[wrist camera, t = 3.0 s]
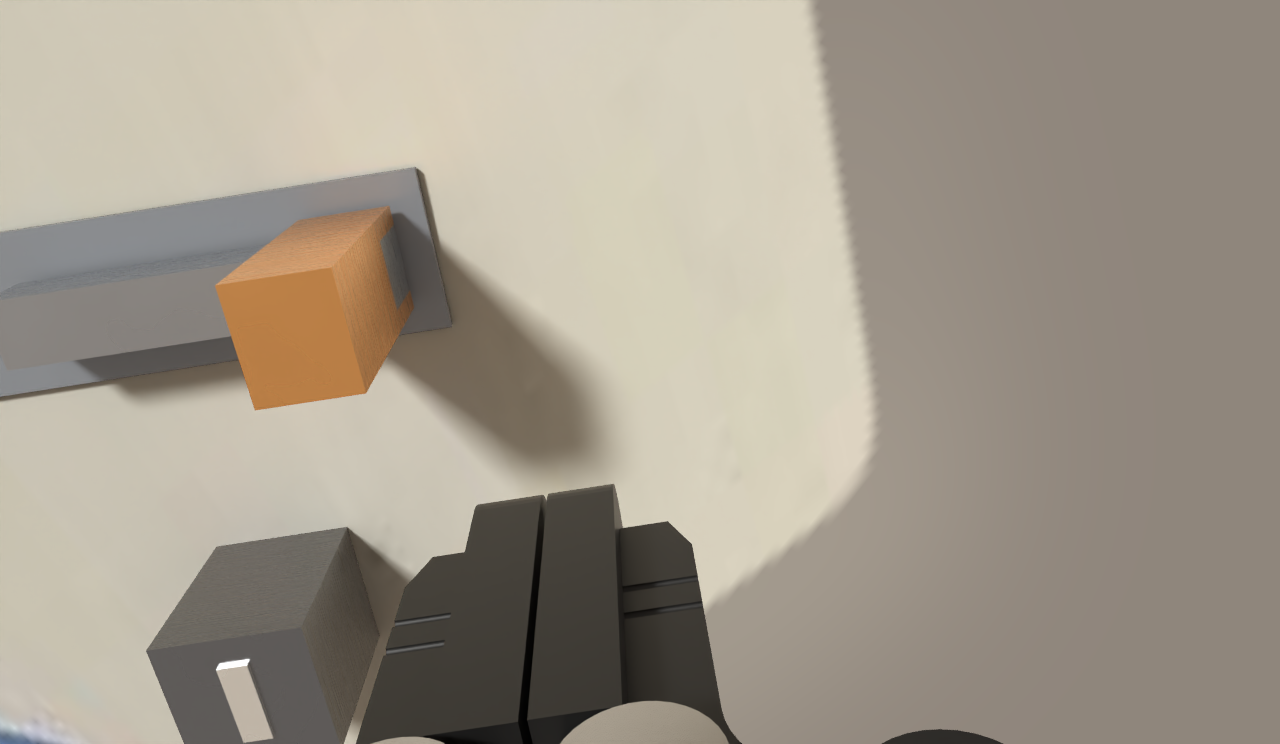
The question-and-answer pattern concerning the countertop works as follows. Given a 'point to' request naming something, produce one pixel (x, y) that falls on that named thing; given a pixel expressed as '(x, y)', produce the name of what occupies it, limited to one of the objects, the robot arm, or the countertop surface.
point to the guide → (203, 232)
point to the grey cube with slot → (269, 643)
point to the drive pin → (235, 309)
